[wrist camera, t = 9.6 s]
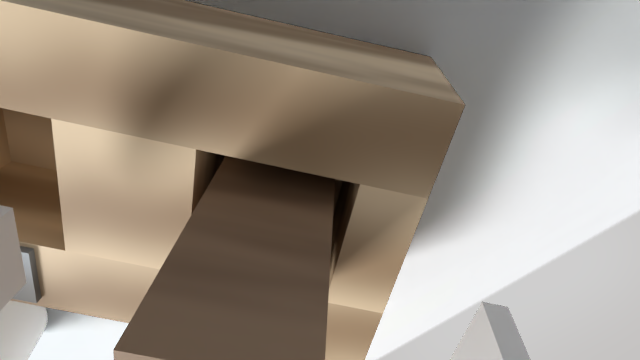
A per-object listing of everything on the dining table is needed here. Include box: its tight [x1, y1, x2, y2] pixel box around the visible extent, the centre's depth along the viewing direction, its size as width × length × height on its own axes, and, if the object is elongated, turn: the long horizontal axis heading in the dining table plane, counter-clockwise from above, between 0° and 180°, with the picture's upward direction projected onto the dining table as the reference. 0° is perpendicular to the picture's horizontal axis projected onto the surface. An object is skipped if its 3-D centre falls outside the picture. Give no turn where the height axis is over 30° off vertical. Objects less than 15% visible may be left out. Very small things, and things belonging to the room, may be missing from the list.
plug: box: [114, 156, 335, 360], centre depth 14 cm, size 4×4×12 cm
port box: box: [0, 0, 465, 360], centre depth 17 cm, size 12×20×6 cm, turn 78°
